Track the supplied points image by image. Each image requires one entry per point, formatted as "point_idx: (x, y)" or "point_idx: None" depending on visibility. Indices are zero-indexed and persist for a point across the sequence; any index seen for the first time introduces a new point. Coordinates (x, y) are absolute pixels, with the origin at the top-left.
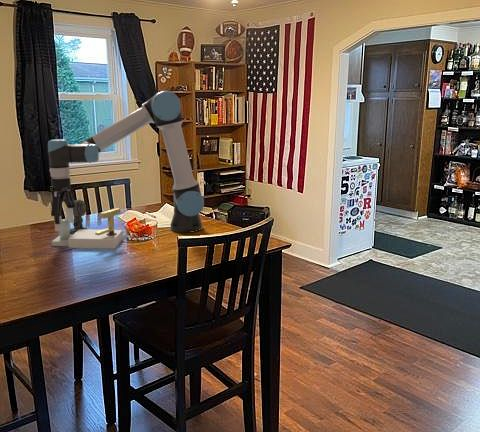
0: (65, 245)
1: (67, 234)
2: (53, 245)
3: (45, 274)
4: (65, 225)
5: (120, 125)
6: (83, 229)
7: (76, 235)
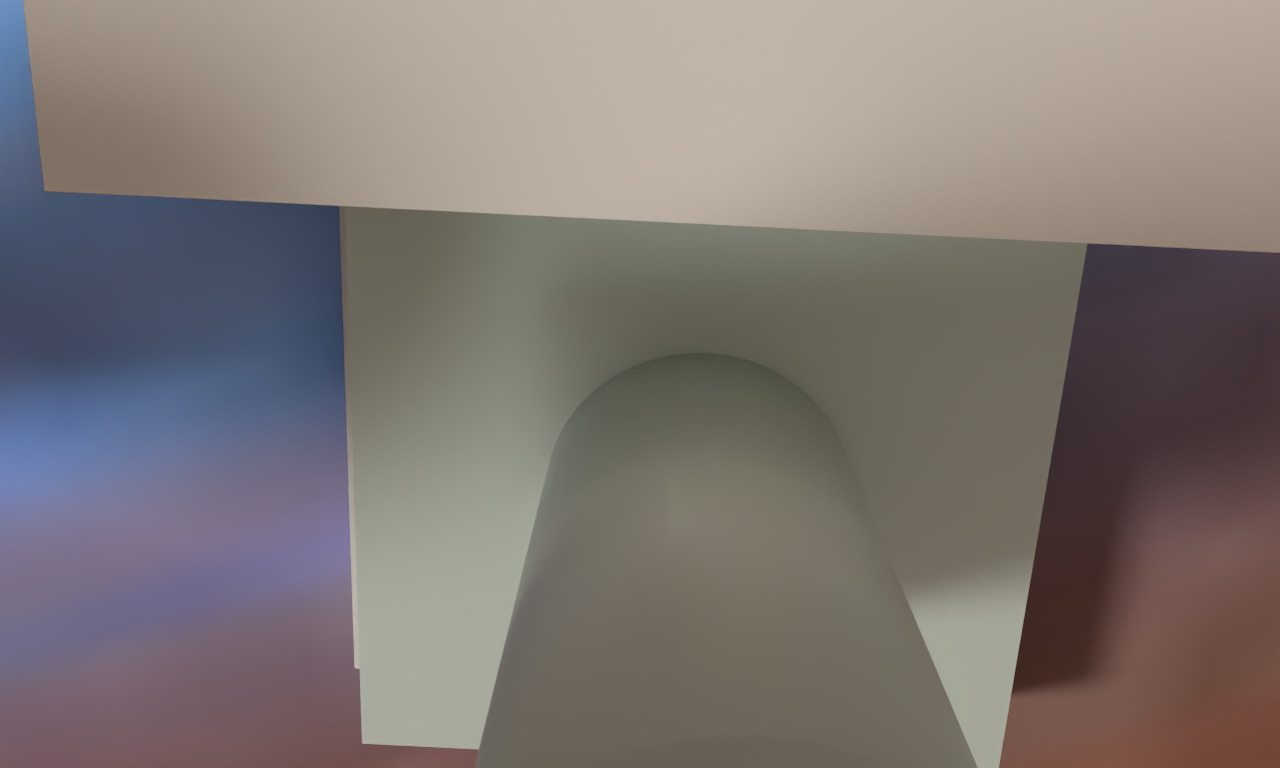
0: None
1: (822, 450)
2: None
3: None
4: (944, 696)
5: None
6: (55, 7)
7: (1002, 46)
